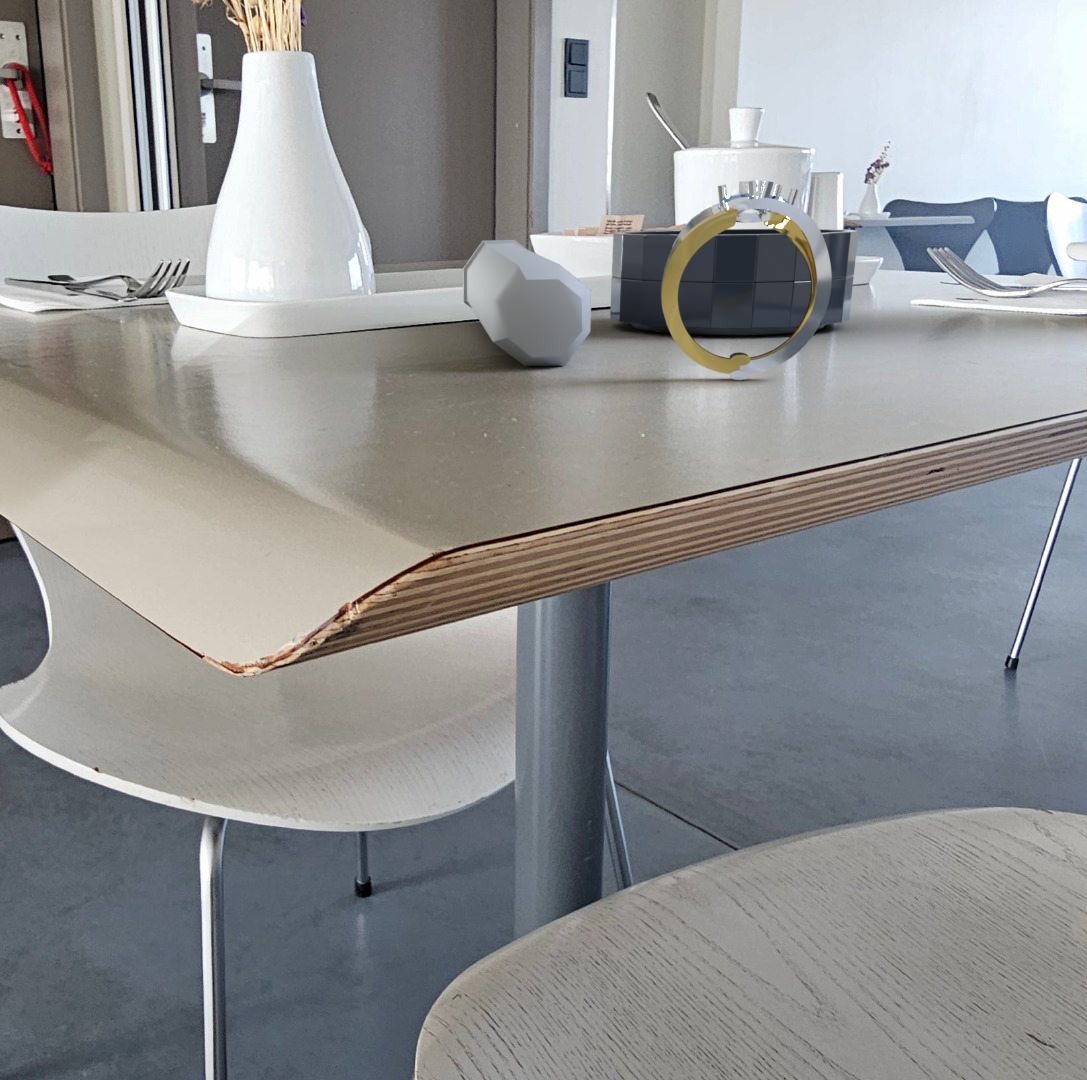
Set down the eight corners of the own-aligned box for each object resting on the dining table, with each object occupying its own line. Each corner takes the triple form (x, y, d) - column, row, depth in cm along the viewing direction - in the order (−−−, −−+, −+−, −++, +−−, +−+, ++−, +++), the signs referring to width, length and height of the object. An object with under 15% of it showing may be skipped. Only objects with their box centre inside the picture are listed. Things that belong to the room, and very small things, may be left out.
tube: (621, 279, 53) (553, 253, 76) (510, 241, 52) (475, 226, 75) (580, 393, 54) (526, 333, 78) (472, 358, 54) (450, 308, 77)
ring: (816, 374, 52) (835, 179, 49) (826, 384, 49) (847, 178, 46) (656, 373, 53) (666, 182, 50) (657, 383, 50) (667, 181, 47)
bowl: (745, 311, 81) (751, 227, 79) (899, 329, 69) (910, 230, 67) (568, 322, 76) (570, 232, 74) (702, 343, 63) (708, 236, 62)
